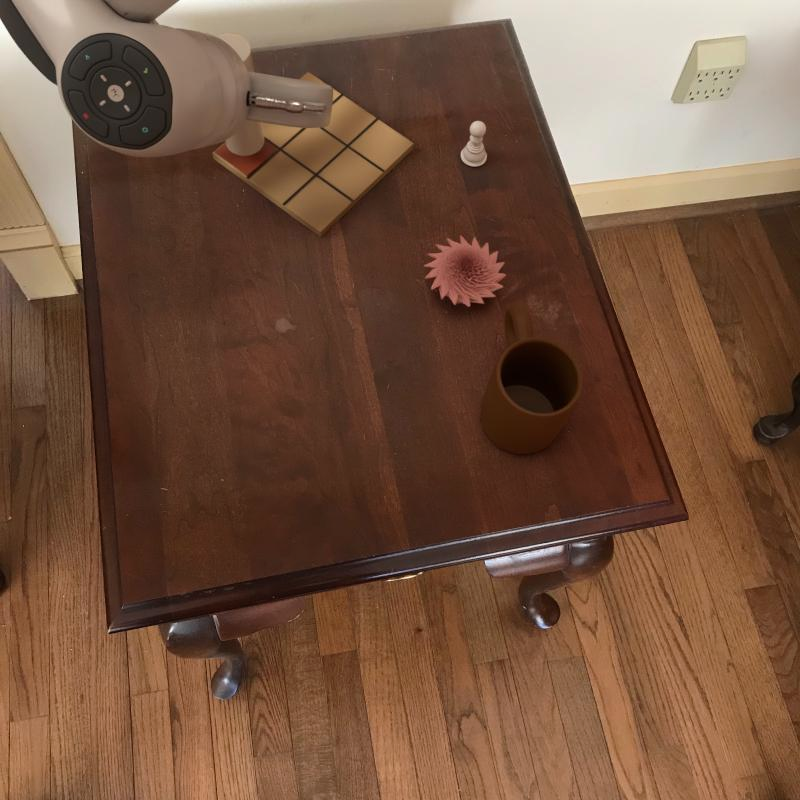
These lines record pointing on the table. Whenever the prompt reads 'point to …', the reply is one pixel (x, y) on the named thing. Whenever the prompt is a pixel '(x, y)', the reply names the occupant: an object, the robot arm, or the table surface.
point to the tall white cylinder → (250, 132)
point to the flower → (465, 272)
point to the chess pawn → (475, 146)
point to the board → (320, 163)
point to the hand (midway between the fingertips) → (237, 88)
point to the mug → (529, 388)
